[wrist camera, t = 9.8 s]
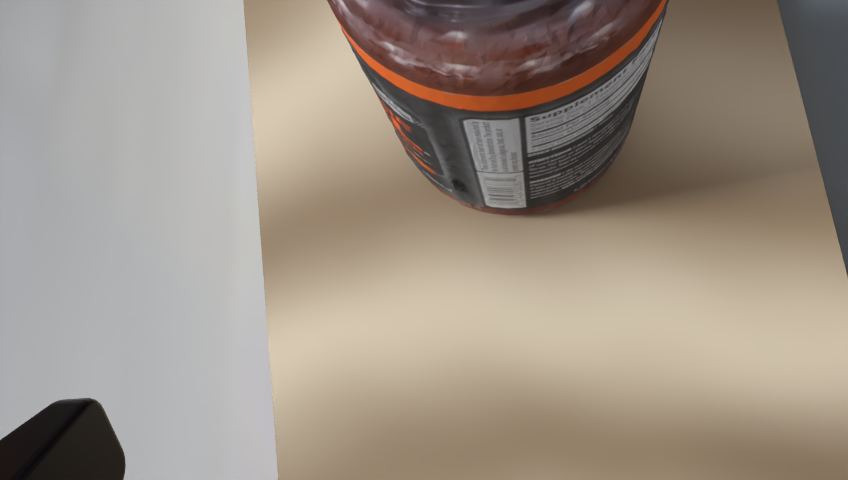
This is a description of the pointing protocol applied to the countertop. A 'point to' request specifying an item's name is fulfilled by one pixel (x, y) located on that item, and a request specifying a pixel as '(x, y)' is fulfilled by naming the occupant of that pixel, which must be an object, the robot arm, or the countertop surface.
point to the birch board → (553, 279)
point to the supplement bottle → (507, 90)
